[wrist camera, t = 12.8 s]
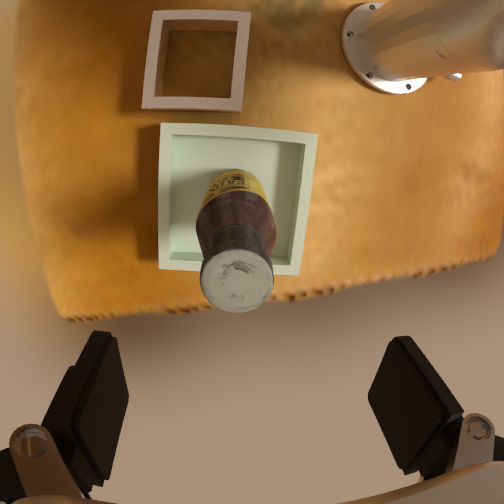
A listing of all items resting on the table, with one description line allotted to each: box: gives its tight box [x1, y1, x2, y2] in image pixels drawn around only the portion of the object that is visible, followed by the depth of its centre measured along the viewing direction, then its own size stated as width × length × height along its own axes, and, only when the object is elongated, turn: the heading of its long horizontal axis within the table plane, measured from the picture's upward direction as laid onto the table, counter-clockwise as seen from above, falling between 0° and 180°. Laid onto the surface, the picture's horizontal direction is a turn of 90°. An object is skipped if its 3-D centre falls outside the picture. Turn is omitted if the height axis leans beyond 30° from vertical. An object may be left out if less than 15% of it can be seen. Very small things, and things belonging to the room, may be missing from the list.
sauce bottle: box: [196, 169, 276, 313], centre depth 26 cm, size 6×6×20 cm
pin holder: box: [142, 9, 251, 113], centre depth 28 cm, size 10×11×4 cm
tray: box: [158, 123, 318, 275], centre depth 35 cm, size 16×16×4 cm
